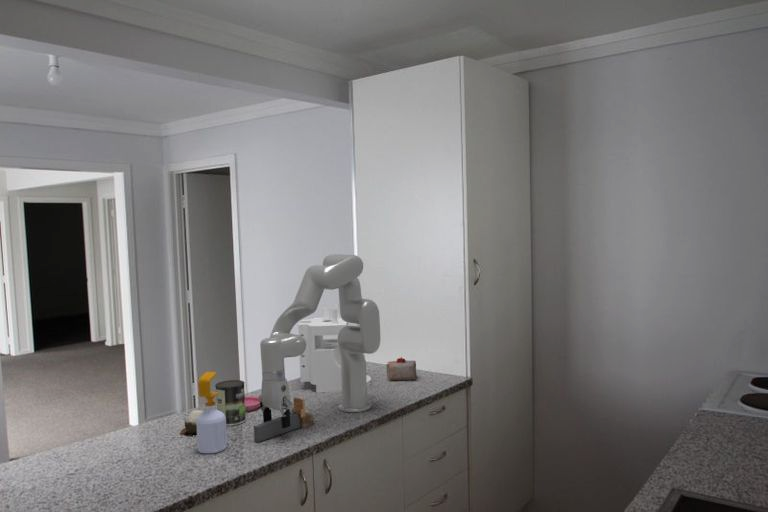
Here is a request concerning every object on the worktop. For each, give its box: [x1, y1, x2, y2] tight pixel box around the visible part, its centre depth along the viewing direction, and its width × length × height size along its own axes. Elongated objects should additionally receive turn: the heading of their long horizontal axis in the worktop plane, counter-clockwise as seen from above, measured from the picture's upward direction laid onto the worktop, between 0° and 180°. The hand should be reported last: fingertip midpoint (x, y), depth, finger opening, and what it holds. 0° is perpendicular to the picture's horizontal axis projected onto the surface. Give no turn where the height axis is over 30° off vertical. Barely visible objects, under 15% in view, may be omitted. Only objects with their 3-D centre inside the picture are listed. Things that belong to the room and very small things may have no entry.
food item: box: [385, 356, 418, 381], centre depth 272 cm, size 14×8×10 cm, turn 87°
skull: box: [179, 409, 204, 437], centre depth 211 cm, size 12×10×10 cm
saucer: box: [245, 395, 261, 413], centre depth 236 cm, size 12×12×3 cm
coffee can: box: [214, 379, 247, 427], centre depth 220 cm, size 10×10×14 cm
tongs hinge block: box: [299, 411, 315, 429], centre depth 214 cm, size 5×4×4 cm
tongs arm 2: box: [255, 413, 301, 443], centre depth 204 cm, size 18×1×5 cm, turn 139°
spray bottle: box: [196, 371, 228, 455], centre depth 193 cm, size 9×9×25 cm
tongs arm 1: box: [253, 412, 297, 442], centre depth 205 cm, size 18×1×5 cm, turn 140°
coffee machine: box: [298, 303, 372, 394], centre depth 266 cm, size 24×30×35 cm
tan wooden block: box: [291, 396, 306, 418], centre depth 212 cm, size 2×5×6 cm, turn 49°
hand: (276, 424), depth 204 cm, fingers open, 9 cm apart
